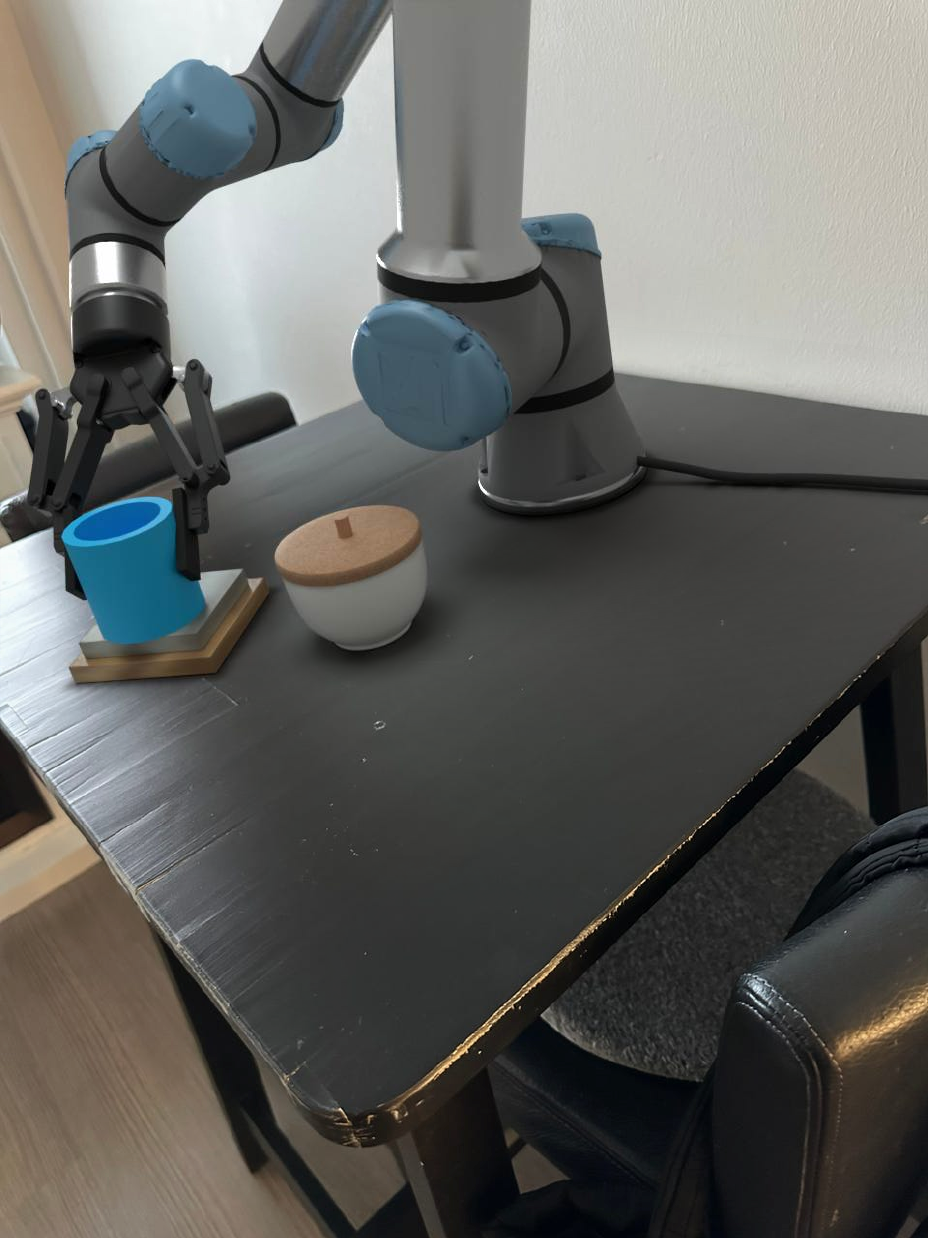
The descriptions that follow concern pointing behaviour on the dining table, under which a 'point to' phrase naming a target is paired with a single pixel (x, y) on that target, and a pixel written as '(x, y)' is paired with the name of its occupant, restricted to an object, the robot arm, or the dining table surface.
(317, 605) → the trinket box
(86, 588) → the mug
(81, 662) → the pad stack
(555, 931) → the dining table surface
